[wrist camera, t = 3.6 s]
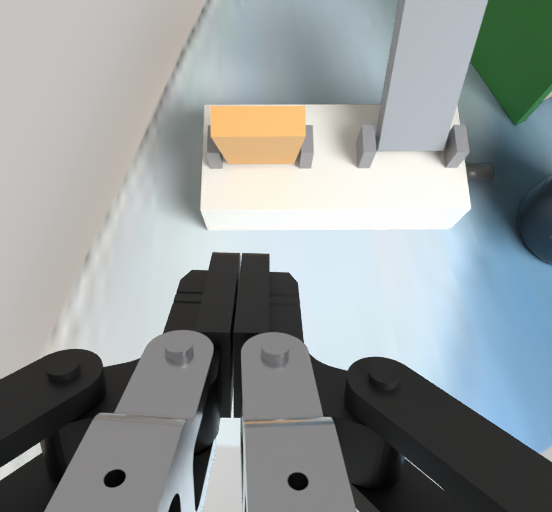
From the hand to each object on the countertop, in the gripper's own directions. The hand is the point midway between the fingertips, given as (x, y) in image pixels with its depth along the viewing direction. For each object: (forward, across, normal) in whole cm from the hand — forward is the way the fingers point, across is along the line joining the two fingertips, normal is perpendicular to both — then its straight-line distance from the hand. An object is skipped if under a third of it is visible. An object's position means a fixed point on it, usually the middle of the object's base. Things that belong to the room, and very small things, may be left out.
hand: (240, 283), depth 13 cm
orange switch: (+22, 0, +2) cm, 22 cm away
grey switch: (+22, -10, +2) cm, 24 cm away
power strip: (+25, -7, +5) cm, 26 cm away
